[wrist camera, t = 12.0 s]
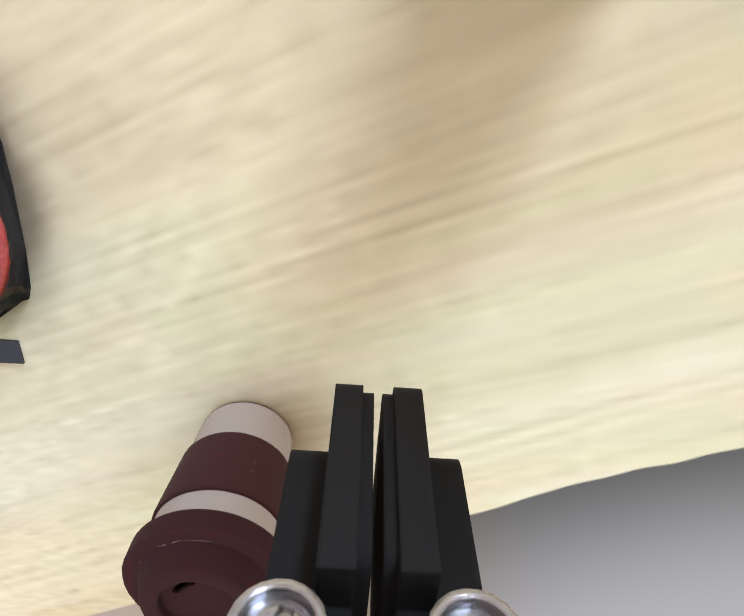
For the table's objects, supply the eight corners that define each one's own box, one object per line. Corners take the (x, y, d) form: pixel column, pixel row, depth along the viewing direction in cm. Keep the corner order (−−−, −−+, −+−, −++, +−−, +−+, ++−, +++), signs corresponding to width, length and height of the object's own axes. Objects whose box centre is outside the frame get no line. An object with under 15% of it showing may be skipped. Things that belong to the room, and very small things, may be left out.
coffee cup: (313, 478, 48) (290, 658, 35) (198, 480, 49) (132, 660, 35) (303, 383, 44) (272, 551, 30) (175, 387, 44) (89, 554, 31)
